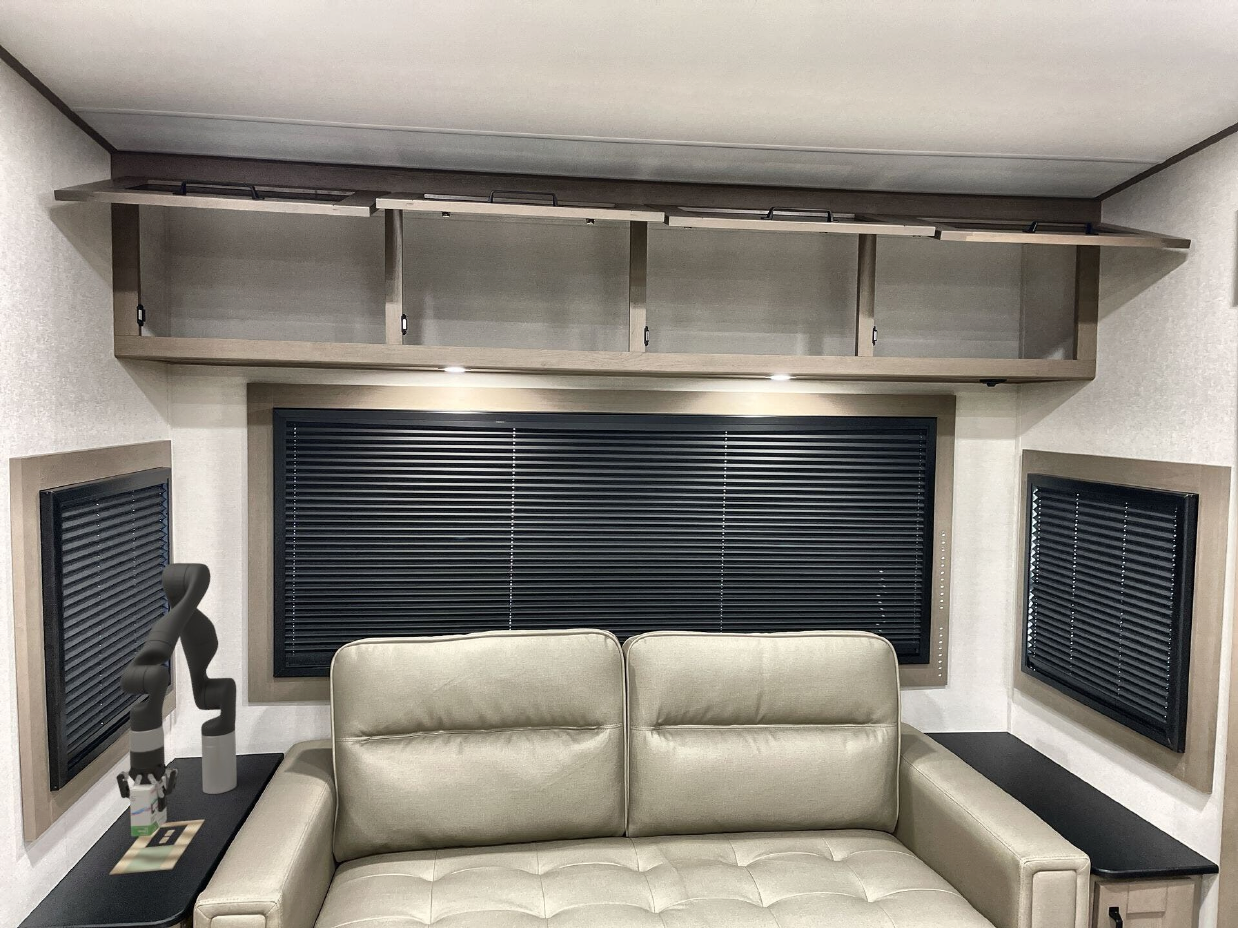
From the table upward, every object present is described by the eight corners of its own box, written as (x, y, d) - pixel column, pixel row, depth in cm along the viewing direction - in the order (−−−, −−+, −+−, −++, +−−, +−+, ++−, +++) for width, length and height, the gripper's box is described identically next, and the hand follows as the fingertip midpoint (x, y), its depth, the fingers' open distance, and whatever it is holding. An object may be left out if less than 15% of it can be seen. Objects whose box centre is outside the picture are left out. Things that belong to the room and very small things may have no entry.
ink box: (150, 836, 205) (149, 788, 205) (130, 836, 205) (128, 789, 205) (167, 820, 214) (166, 774, 213) (147, 820, 213) (146, 775, 213)
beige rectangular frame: (149, 825, 228) (149, 823, 228) (204, 820, 231) (204, 818, 231) (109, 874, 202) (109, 872, 202) (171, 868, 205) (171, 867, 205)
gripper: (183, 737, 214) (184, 802, 214) (121, 741, 211) (123, 807, 212) (172, 748, 206) (174, 815, 207) (109, 752, 204) (111, 821, 204)
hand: (148, 811), depth 209 cm, fingers closed on ink box, 5 cm apart
